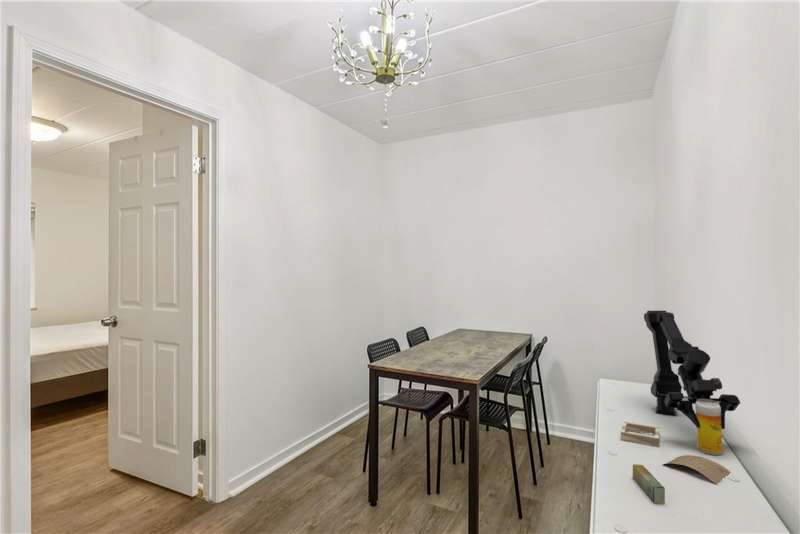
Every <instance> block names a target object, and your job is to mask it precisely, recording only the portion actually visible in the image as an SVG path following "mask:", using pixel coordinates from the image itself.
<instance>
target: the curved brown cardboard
mask: <svg viewBox="0 0 800 534" xmlns="http://www.w3.org/2000/svg"><path fill="white" fill-rule="evenodd" d="M671 460H672V461H671ZM671 460H669V461H668V462H666V463H665V465H668V464H669V465H670V464H675V465H681V466H685V467H688V468H689V469H692V470H695V471H697V472H698V473H700V474H701V475H703V476H704V477H706V478H708V480H710V481H711V482H713V483H714V484H715V485H718V484H719V483H720V481H721V480H722V479H723V478H725V477H726V476H728V475H729V474H730V473H732V472H731V471H730V470H729V469H728V468H726V467H725V466H723V465H722V464H720V463H718V462H716V461H714V460H711V459H709V458H706V457H703V456H699V455H692V454H686V455H685V454H684V455H680V456H677V457H675V458H674V460H673V459H671ZM725 479H726V478H725ZM722 481H723V480H722ZM722 481H721V482H722Z"/></svg>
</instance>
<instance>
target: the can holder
mask: <svg viewBox="0 0 800 534" xmlns="http://www.w3.org/2000/svg"><path fill="white" fill-rule="evenodd" d="M628 431H629V432H628ZM638 432H642V433H641V434H640V433H639V434H638ZM644 433H652V434H655V435H654V436H652V435H651V436H650V435H646V434H645V435H644ZM620 441H623V442H624V441H625V442H629V443H634V444H640V445H645V444H646V446H650V445H654V446H653V447H656V446H659V447H660V427H658V426H652V425H651V426H650V425H645V424H640V423H633V422H632V423H631V422H625V421H623V423H622V426H621V430H620Z"/></svg>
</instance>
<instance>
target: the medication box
mask: <svg viewBox="0 0 800 534" xmlns="http://www.w3.org/2000/svg"><path fill="white" fill-rule="evenodd" d="M632 479H633V480H634V481H635V483H636V484H637V486H639V488H640V489H641V490H642V491H643V492H644V494H645V495H646V497H647V498H648V499H649V500H650V501H651V502H652V503H653V504H655V505H656V504H658V505H663V504H664V505H665V504H666V503H665V502H666V499H665V498H666V488H665V487H664V486H663V485H662V484H661V482H660V481H658V479H657V478H656V477H655V476H654V475H653V474H652V473H651V472H650V471H649V470H648V468H646V467H645V466H644V465H643V464H635V463H634V464H632Z"/></svg>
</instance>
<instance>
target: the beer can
mask: <svg viewBox="0 0 800 534" xmlns="http://www.w3.org/2000/svg"><path fill="white" fill-rule="evenodd" d="M694 405H695V407H694V408H695V414H696V416H697V419H698V421H699V424H700V427H699V428H697V427H696V426H695V428H696V432H695V433H696V447H697V448H698V450H699V451H700V452H702V453H704V454H706V455H711V456H719V455H721V454H722V453H723V452H724V451H723V433H722V432H723V431H722V430H723V429H722V426H721V407H720V405H719V403H718V402H716V401H713V400H708V399H698V400H697V402H696V403H695V404H694Z"/></svg>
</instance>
